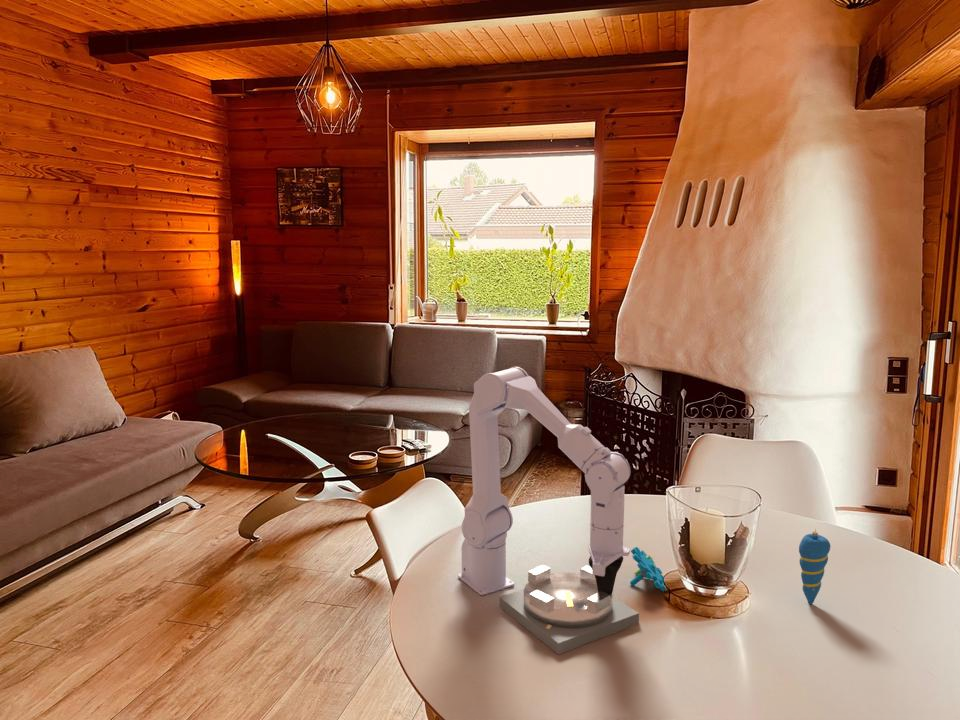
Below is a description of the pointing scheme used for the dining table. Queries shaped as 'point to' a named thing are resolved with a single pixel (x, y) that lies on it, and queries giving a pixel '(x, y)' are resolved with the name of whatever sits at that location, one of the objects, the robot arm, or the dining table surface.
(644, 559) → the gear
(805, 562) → the ornament
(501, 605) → the base plate
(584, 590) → the lugged metal disc
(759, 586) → the dining table surface
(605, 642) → the dining table surface
